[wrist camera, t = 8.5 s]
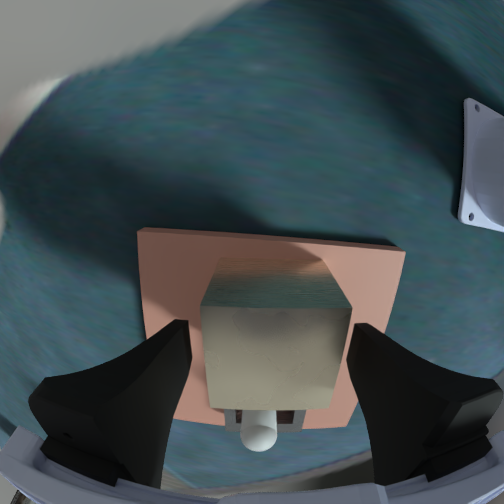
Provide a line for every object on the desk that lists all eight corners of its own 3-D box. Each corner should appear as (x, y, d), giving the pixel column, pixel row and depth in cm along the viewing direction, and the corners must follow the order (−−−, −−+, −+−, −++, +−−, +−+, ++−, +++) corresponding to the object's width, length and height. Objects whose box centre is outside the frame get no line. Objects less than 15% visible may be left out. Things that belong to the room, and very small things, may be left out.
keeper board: (397, 246, 14) (452, 284, 9) (343, 417, 18) (357, 471, 13) (144, 227, 14) (90, 259, 9) (165, 407, 18) (145, 461, 13)
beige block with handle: (220, 257, 14) (199, 305, 9) (322, 259, 13) (352, 307, 9) (227, 415, 17) (220, 472, 12) (299, 415, 17) (306, 473, 12)
